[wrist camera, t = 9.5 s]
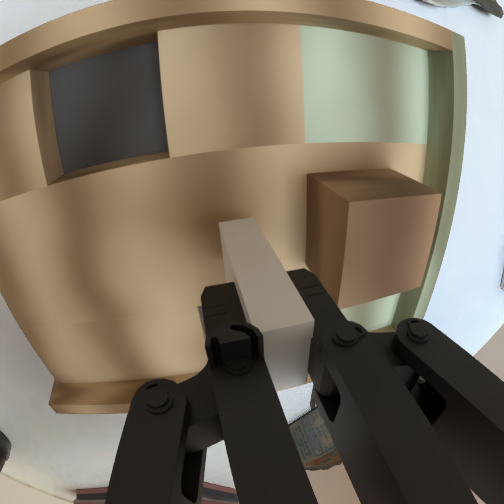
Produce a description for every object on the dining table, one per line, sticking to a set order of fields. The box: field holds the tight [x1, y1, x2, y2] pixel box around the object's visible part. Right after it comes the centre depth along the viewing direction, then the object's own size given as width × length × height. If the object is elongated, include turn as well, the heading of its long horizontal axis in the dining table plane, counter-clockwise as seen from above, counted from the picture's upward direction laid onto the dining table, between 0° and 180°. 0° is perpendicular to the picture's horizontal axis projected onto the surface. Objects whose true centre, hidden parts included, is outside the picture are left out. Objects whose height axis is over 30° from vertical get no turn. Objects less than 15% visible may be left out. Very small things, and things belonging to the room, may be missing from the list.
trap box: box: [0, 0, 467, 414], centre depth 14 cm, size 28×22×4 cm
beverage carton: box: [289, 376, 424, 470], centre depth 28 cm, size 8×19×7 cm, turn 136°
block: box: [305, 169, 442, 310], centre depth 13 cm, size 5×5×4 cm
